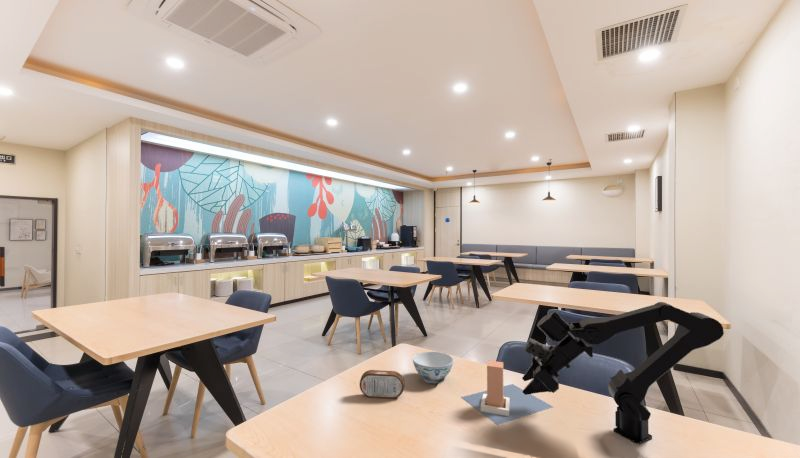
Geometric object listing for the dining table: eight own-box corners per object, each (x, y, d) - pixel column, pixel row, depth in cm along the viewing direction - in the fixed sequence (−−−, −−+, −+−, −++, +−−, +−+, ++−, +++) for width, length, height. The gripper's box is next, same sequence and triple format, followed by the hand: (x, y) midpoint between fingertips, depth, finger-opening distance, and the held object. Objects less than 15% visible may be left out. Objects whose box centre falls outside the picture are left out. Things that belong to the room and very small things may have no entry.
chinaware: (405, 375, 126) (405, 355, 126) (439, 368, 132) (439, 349, 132) (425, 392, 112) (425, 369, 112) (461, 383, 118) (461, 362, 119)
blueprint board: (553, 410, 100) (553, 406, 100) (497, 429, 91) (497, 424, 91) (512, 387, 116) (512, 383, 116) (460, 400, 106) (460, 397, 106)
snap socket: (509, 402, 103) (509, 397, 103) (509, 416, 95) (508, 410, 95) (483, 398, 105) (483, 393, 105) (480, 411, 98) (480, 405, 98)
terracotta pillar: (503, 404, 102) (503, 362, 102) (502, 412, 97) (502, 367, 98) (488, 402, 103) (488, 360, 103) (487, 409, 99) (487, 365, 99)
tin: (404, 395, 110) (404, 370, 110) (404, 400, 107) (404, 374, 107) (360, 393, 111) (360, 368, 112) (358, 398, 108) (358, 372, 108)
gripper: (540, 323, 105) (504, 353, 108) (544, 340, 87) (501, 376, 91) (568, 350, 102) (530, 381, 106) (578, 374, 85) (532, 410, 88)
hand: (523, 386), depth 98 cm, fingers open, 9 cm apart
